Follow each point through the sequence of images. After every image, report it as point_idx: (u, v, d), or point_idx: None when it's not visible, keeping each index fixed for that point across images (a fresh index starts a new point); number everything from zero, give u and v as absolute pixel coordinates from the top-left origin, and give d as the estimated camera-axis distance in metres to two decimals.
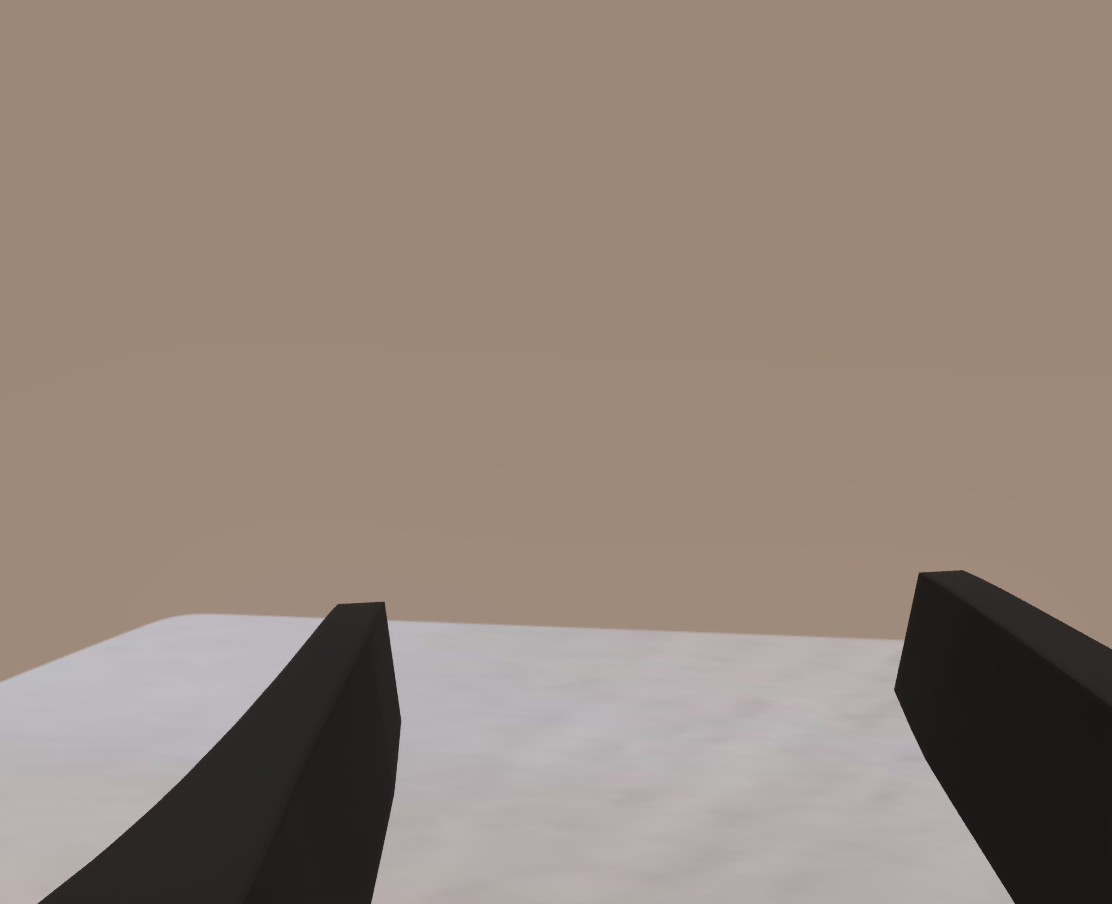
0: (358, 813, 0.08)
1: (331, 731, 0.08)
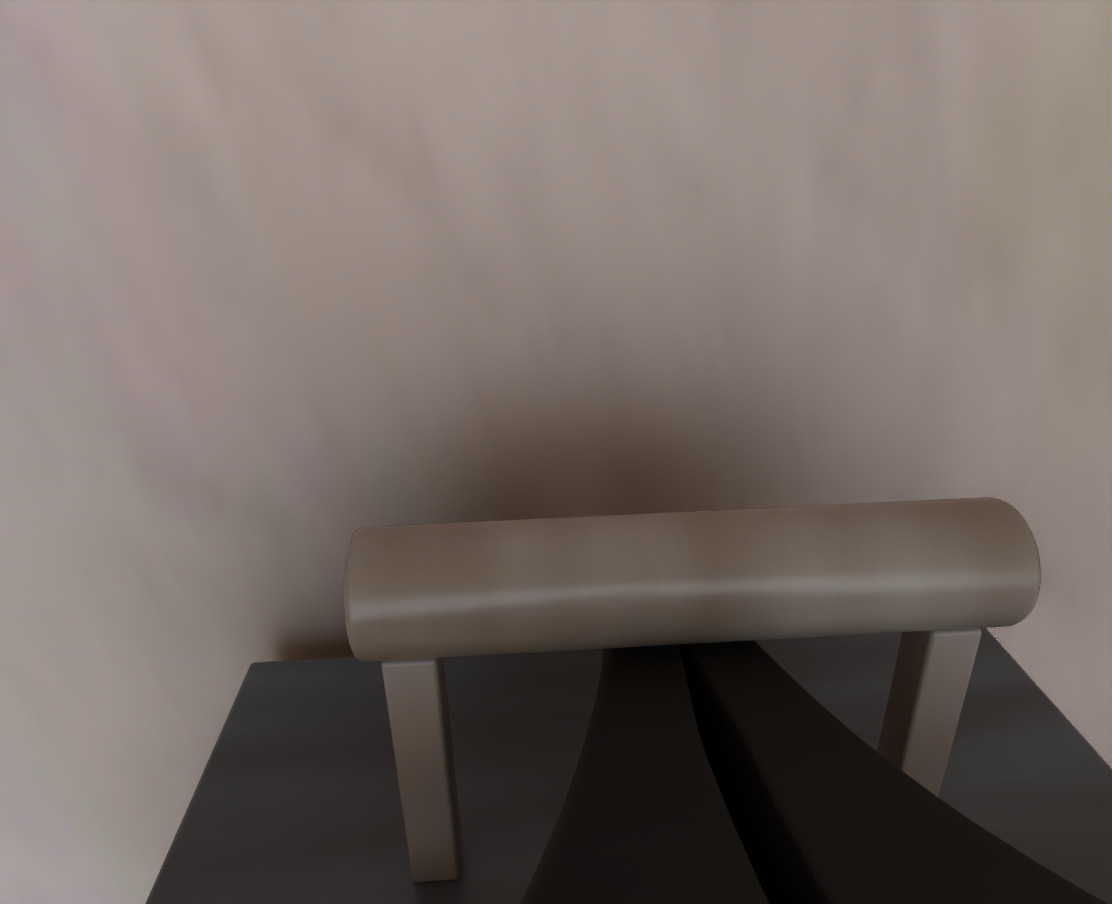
0: None
1: None
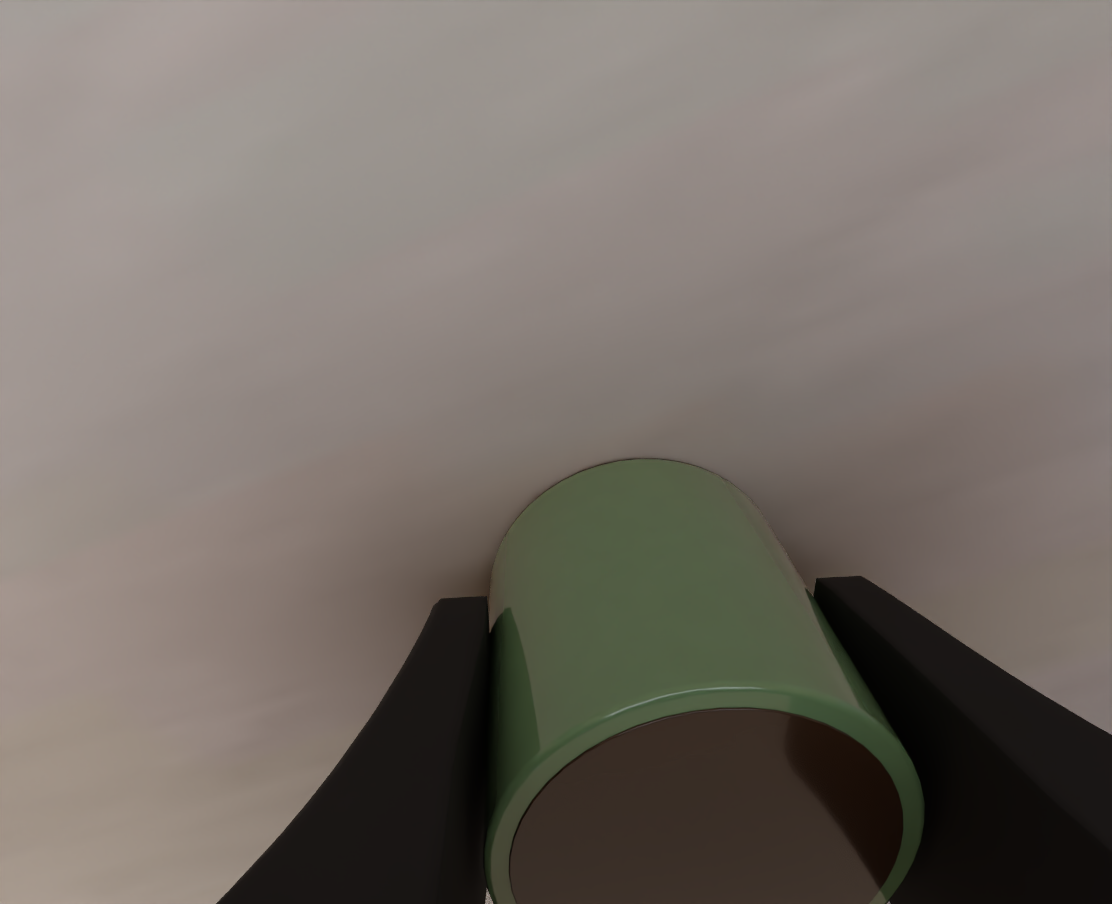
0: (480, 805, 0.08)
1: (467, 723, 0.08)
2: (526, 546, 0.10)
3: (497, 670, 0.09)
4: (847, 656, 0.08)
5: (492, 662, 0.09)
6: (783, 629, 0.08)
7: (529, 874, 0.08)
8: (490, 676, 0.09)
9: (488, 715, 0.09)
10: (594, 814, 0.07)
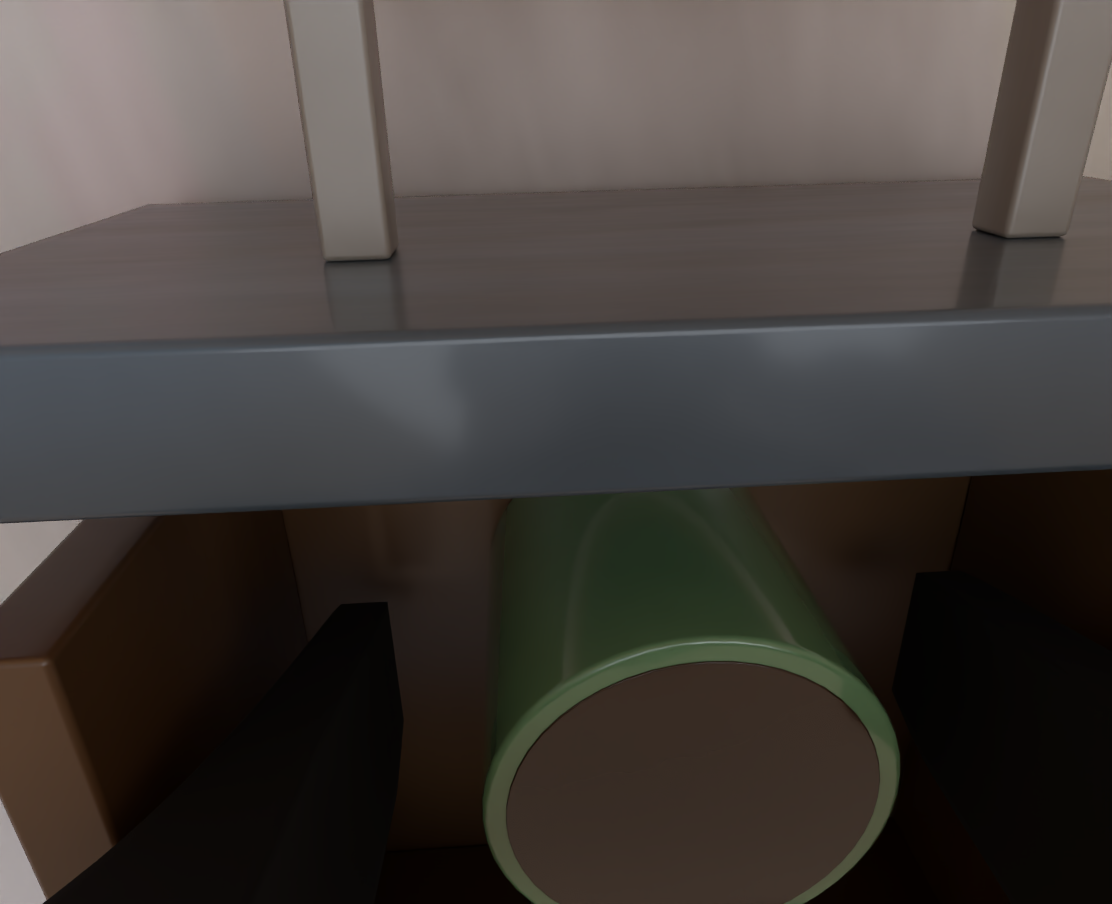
0: (362, 813, 0.08)
1: (335, 731, 0.08)
2: (524, 520, 0.11)
3: (495, 636, 0.09)
4: (828, 619, 0.09)
5: (490, 630, 0.10)
6: (766, 591, 0.08)
7: (524, 823, 0.08)
8: (488, 642, 0.10)
9: (486, 678, 0.09)
10: (587, 764, 0.08)
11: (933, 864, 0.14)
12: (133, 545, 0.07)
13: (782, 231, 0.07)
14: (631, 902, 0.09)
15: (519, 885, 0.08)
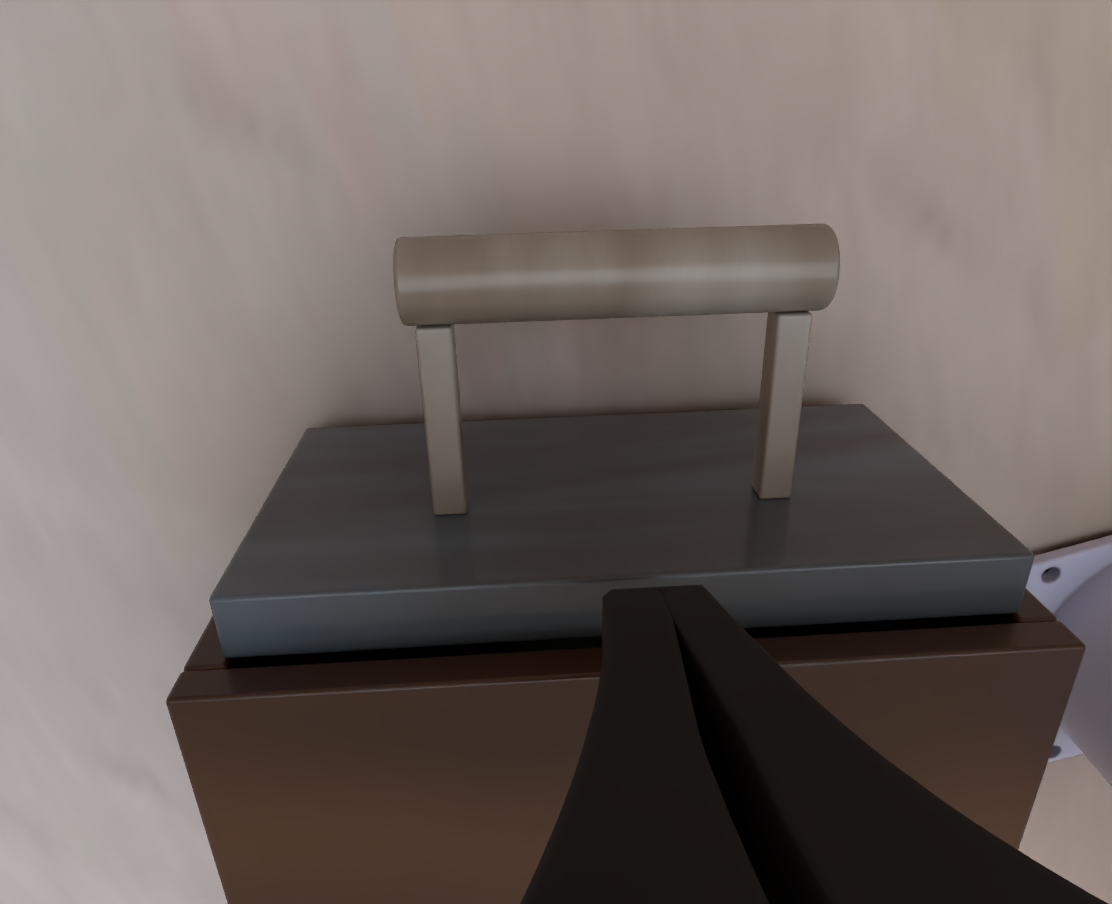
0: None
1: None
2: None
3: None
4: None
5: None
6: None
7: None
8: None
9: None
10: None
11: None
12: None
13: (658, 485, 0.15)
14: None
15: None
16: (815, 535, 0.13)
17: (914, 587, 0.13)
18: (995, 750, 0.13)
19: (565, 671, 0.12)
